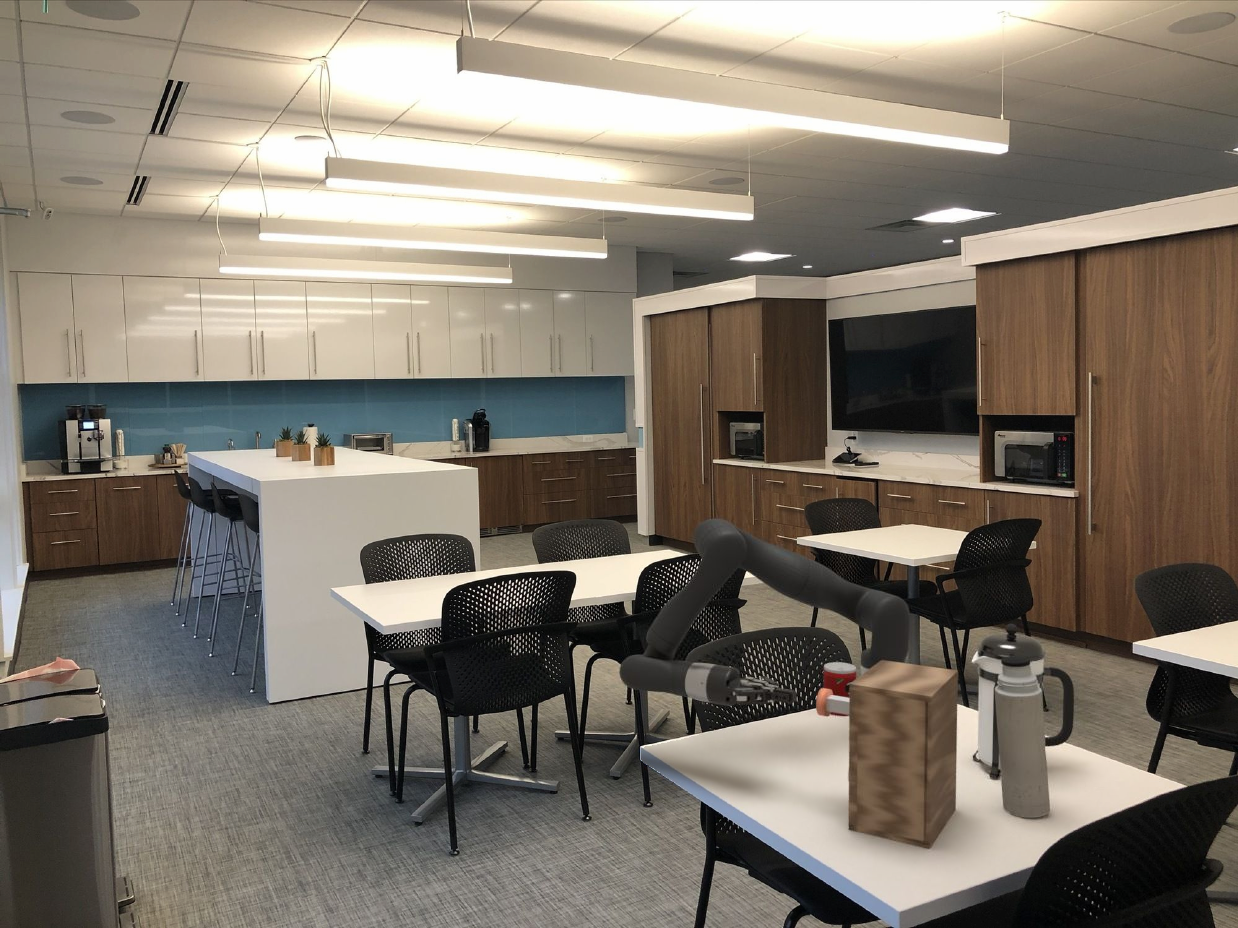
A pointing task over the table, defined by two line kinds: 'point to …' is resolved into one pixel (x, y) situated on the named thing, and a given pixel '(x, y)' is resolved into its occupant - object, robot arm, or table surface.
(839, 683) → the canned food
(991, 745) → the coffee press
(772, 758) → the table surface
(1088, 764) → the table surface
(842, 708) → the salmon round knob
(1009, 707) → the thermos bottle
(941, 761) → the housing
